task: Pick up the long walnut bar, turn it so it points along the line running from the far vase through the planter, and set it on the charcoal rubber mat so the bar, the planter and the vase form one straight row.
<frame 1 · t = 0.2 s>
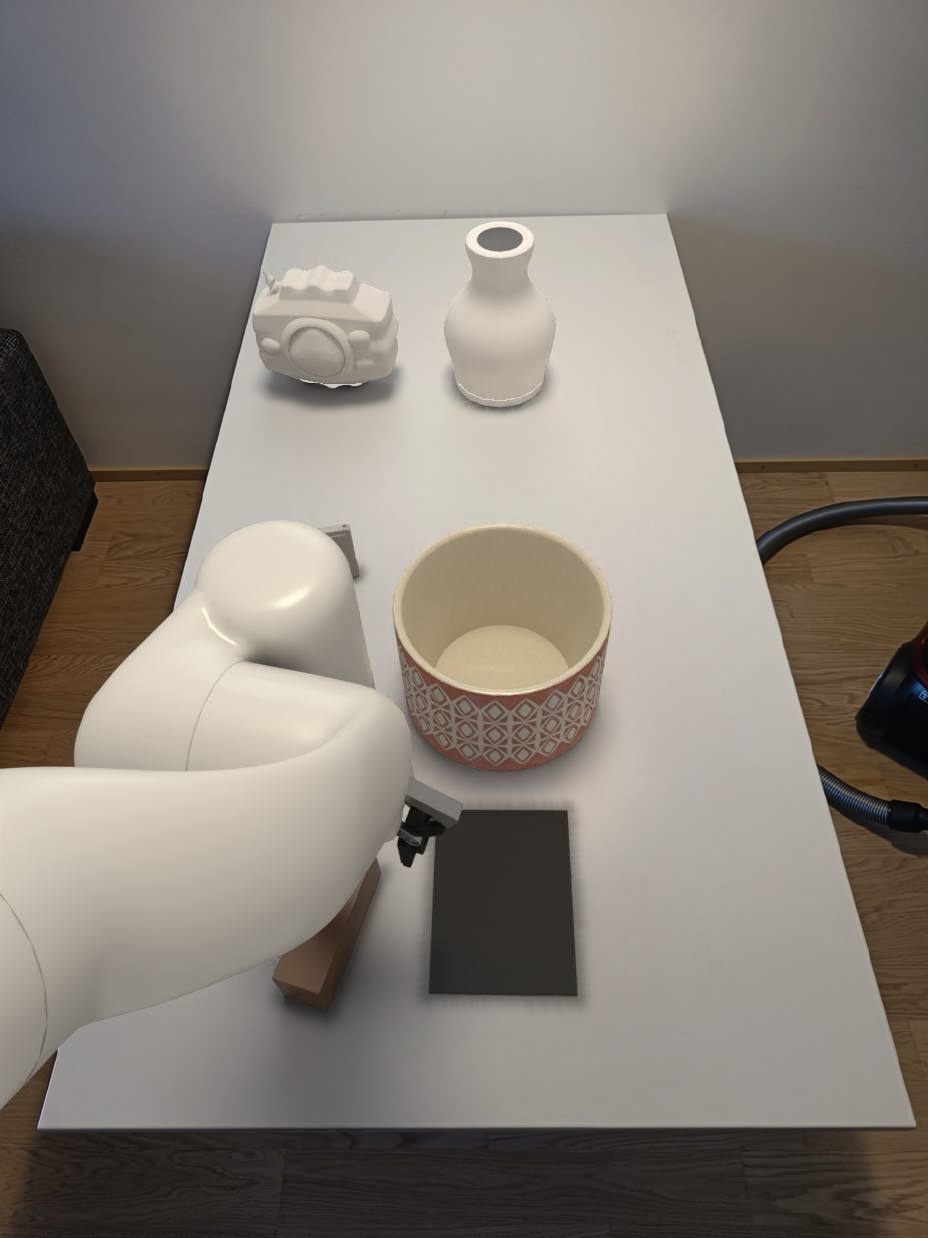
hand: (351, 829, 64), 15 cm above the table, tool pointing down, fingers open, 9 cm apart
camera: (335, 383, 120), on the table
line mat: (502, 897, 76), on the table
cassette: (306, 582, 99), on the table
vase: (499, 379, 119), on the table
planter: (501, 693, 89), on the table
bar: (334, 932, 75), on the table
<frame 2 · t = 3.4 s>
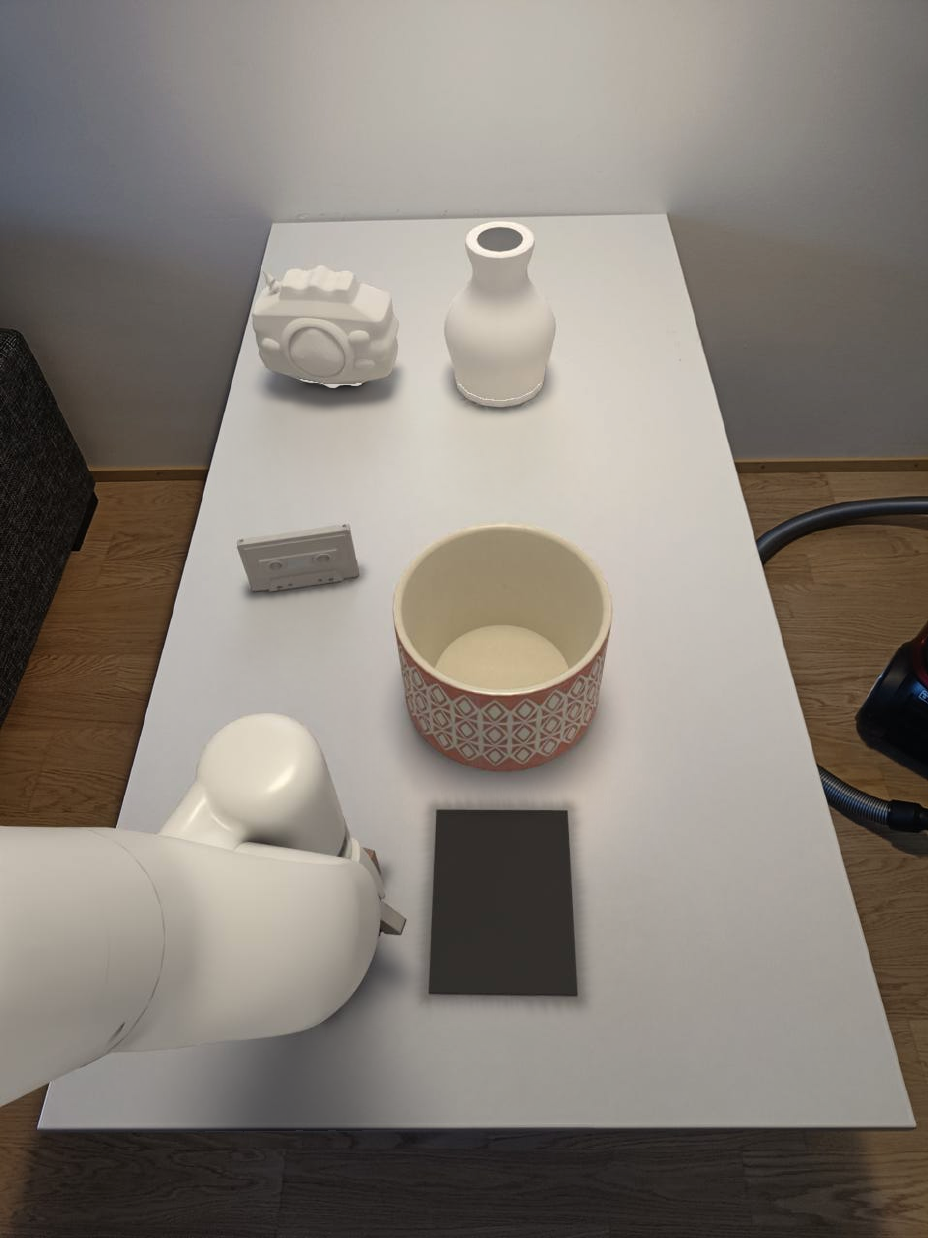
hand: (333, 930, 75), 1 cm above the table, tool pointing down, fingers closed on bar, 4 cm apart
bar: (334, 932, 75), on the table, touching gripper
everything else where it was.
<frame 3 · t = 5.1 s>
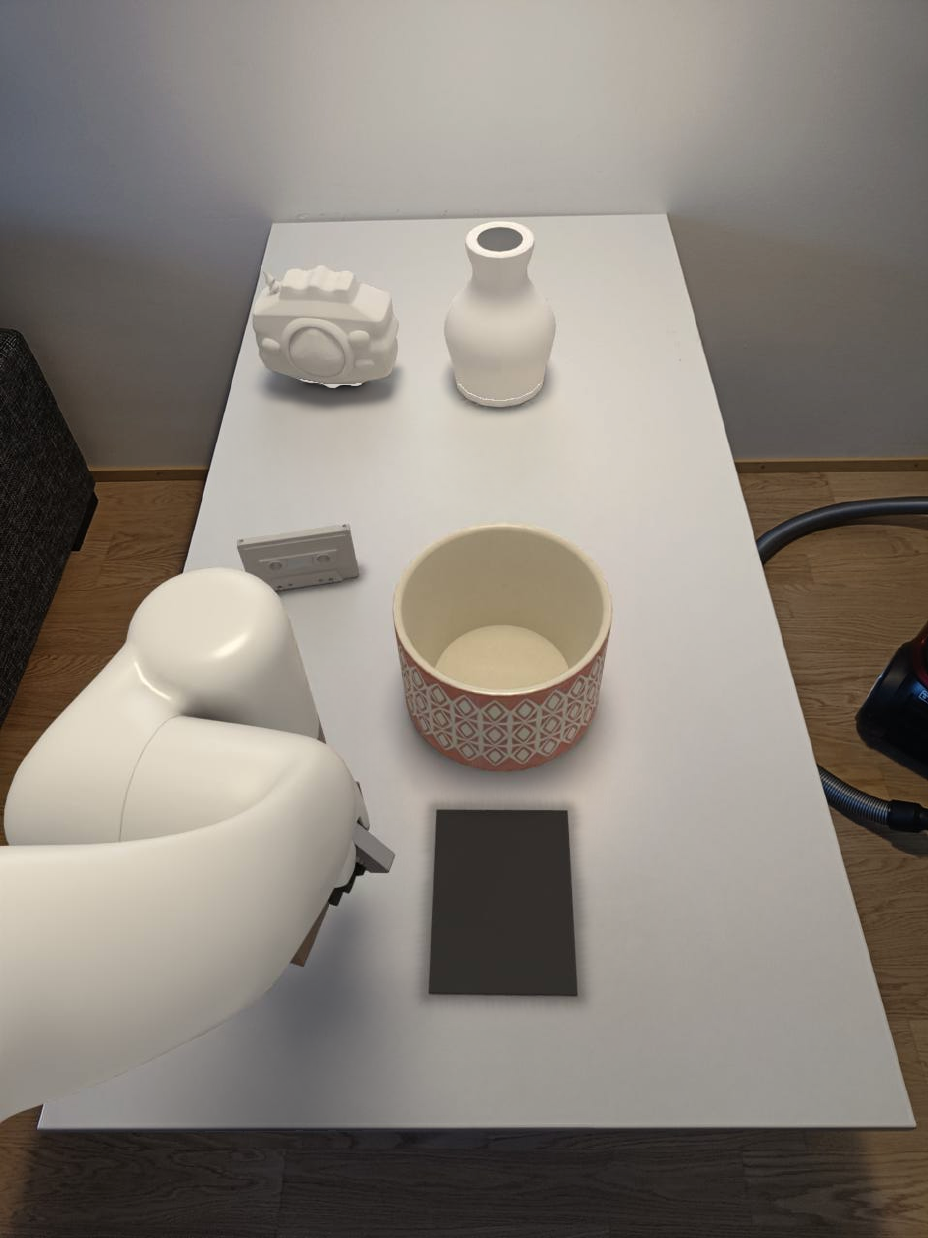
hand: (310, 875, 64), 14 cm above the table, tool pointing down, fingers closed on bar, 4 cm apart
bar: (312, 878, 64), point 13 cm above the table, touching gripper
everything else where it was.
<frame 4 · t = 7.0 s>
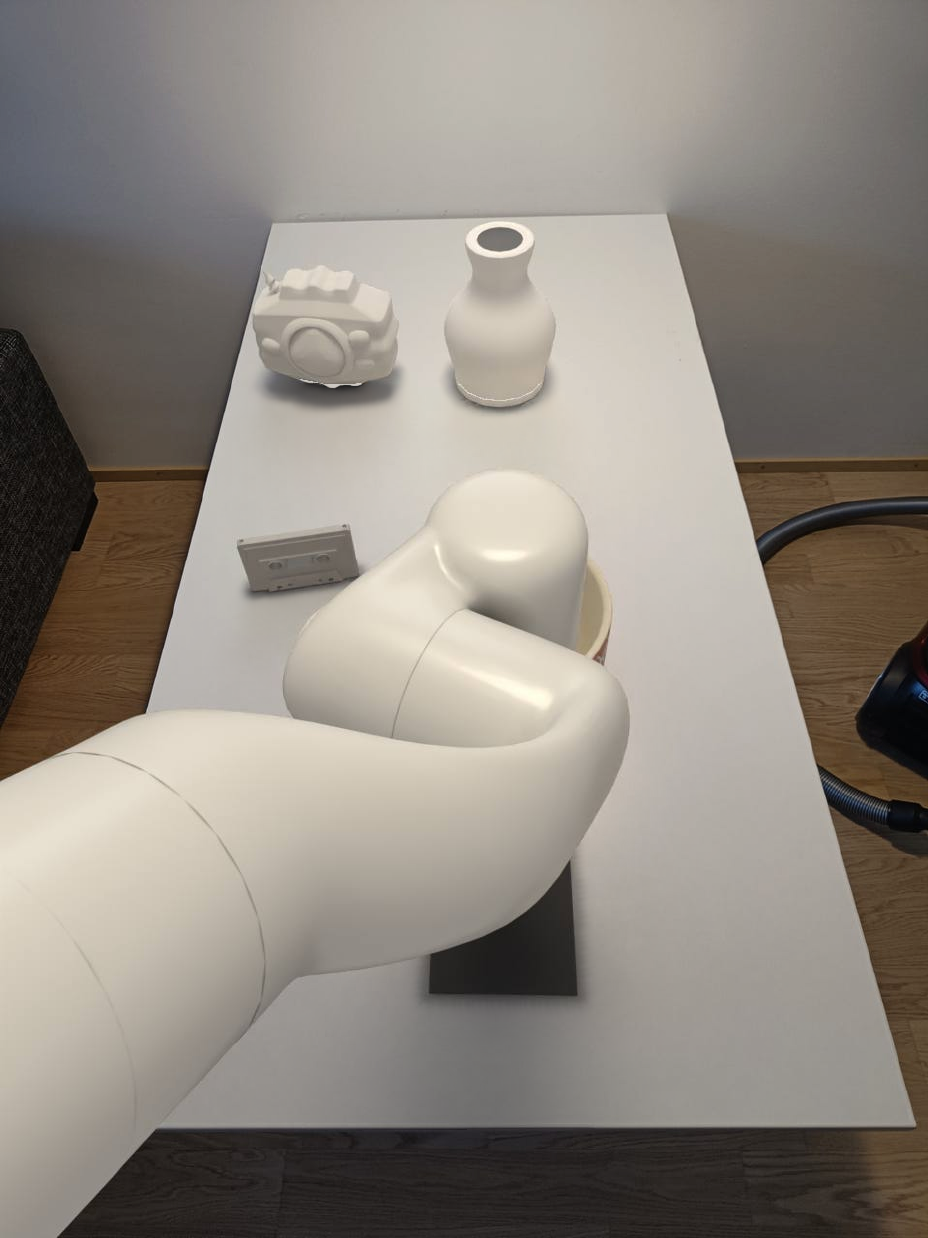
hand: (502, 812, 63), 17 cm above the table, tool pointing down, fingers closed on bar, 4 cm apart
bar: (502, 815, 63), point 17 cm above the table, touching gripper
everything else where it was.
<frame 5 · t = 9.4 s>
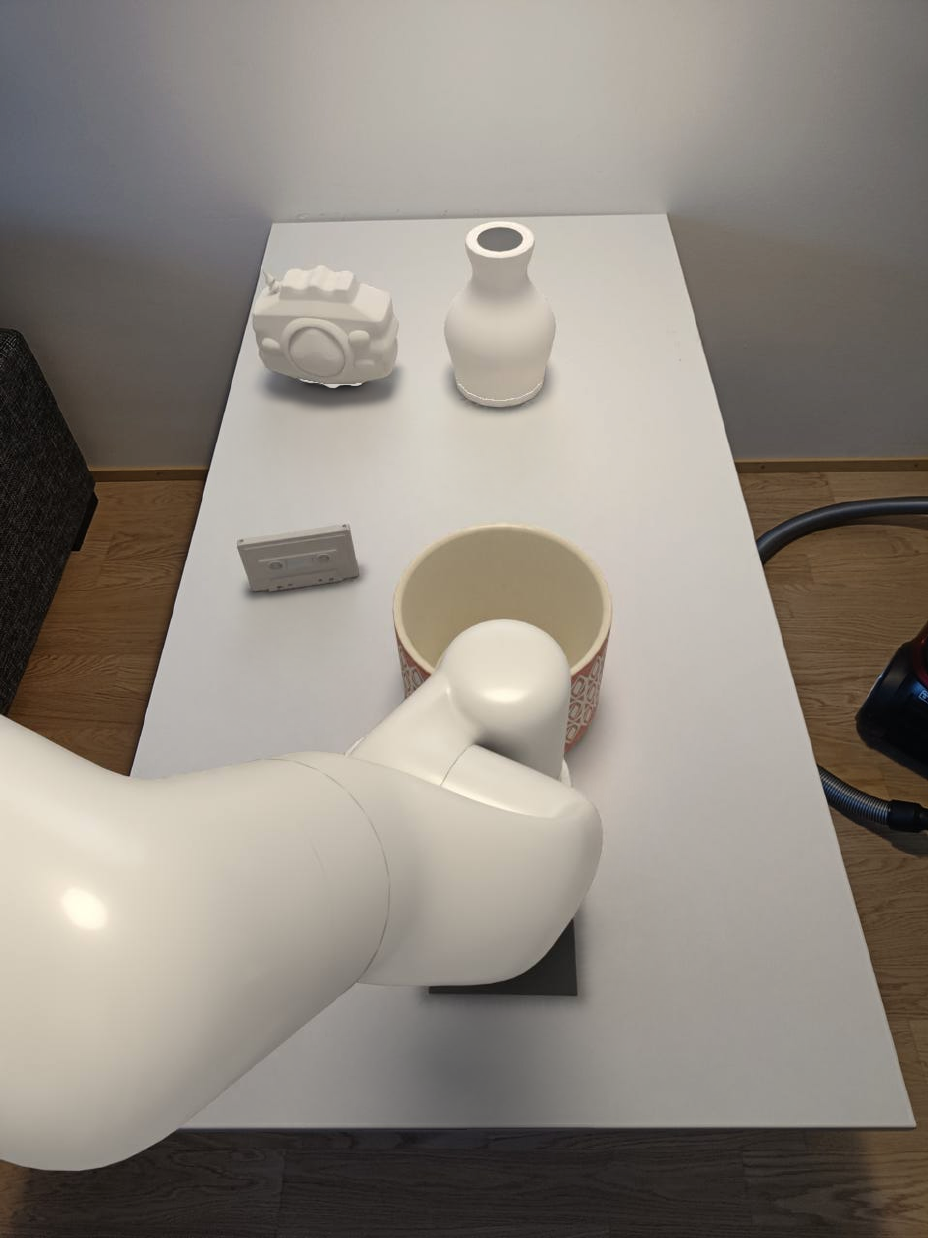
hand: (503, 871, 72), 6 cm above the table, tool pointing down, fingers closed on bar, 4 cm apart
bar: (503, 873, 72), point 5 cm above the table, touching gripper
everything else where it was.
when the fingers open (1 cm above the table, at t = 10.9 s): bar stays where it is, resting on line mat.
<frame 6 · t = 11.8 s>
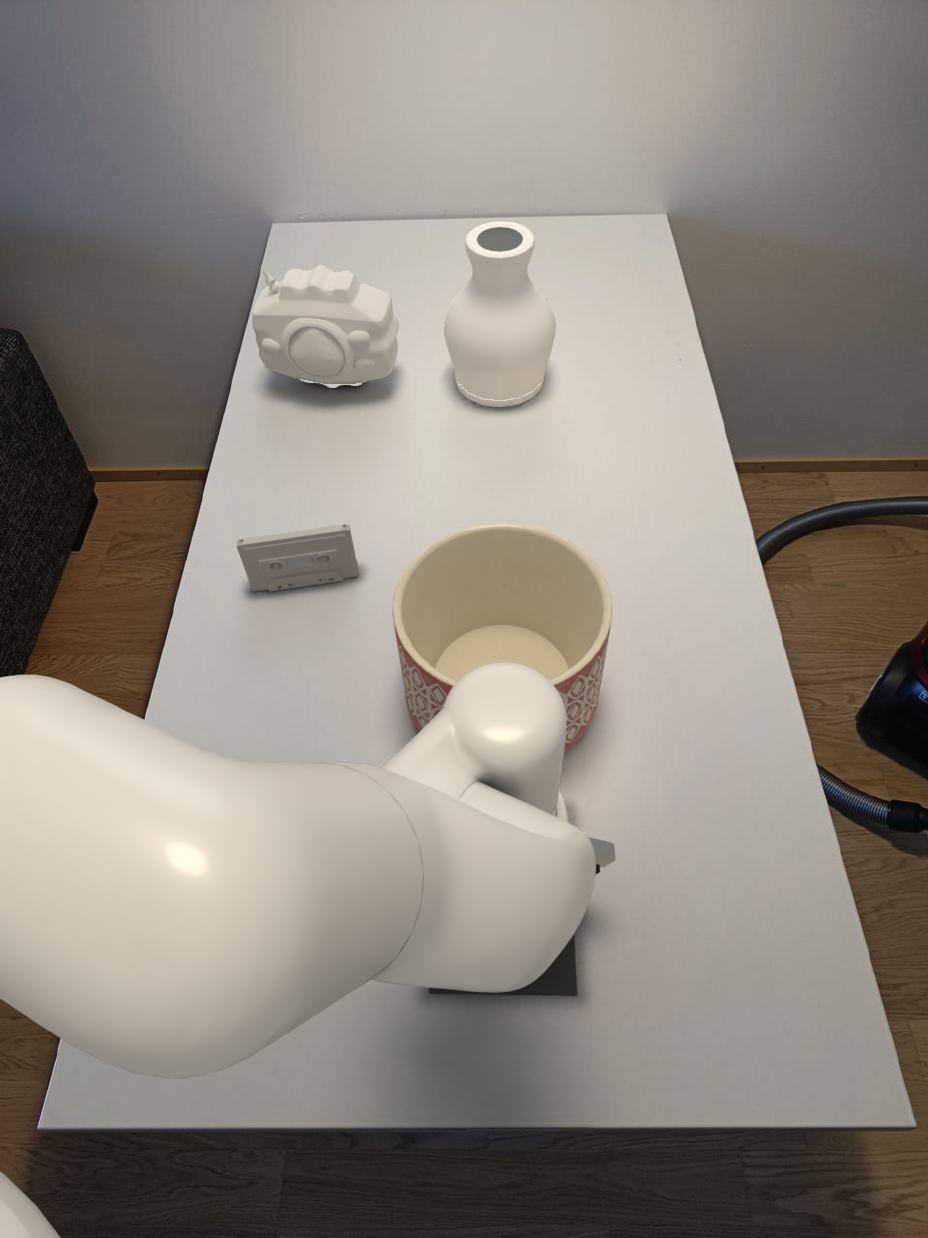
hand: (501, 889, 74), 2 cm above the table, tool pointing down, fingers open, 9 cm apart
bar: (502, 894, 76), resting on line mat
everything else where it was.
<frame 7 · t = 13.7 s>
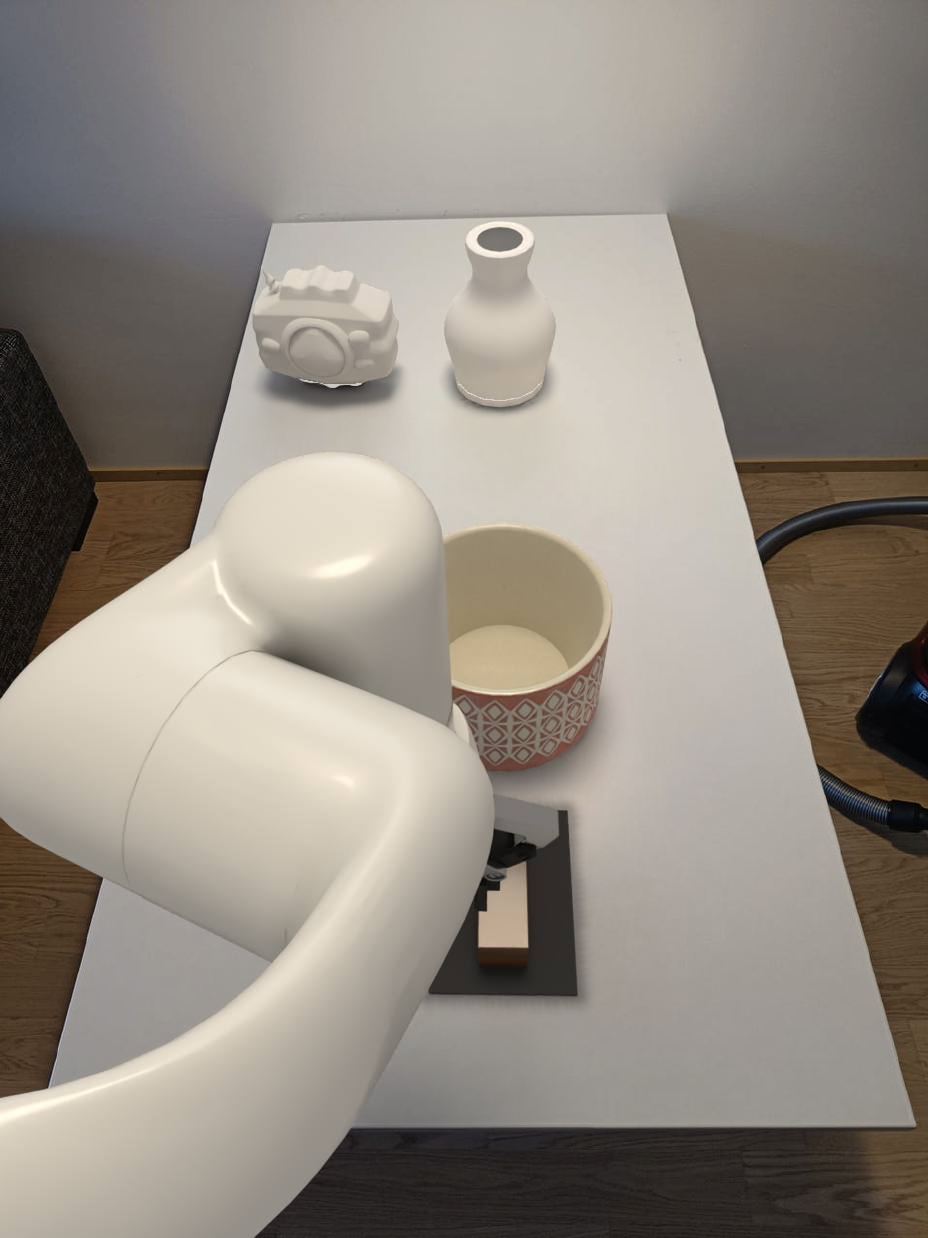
hand: (396, 884, 50), 27 cm above the table, tool pointing down, fingers open, 9 cm apart
nothing on the table moved.
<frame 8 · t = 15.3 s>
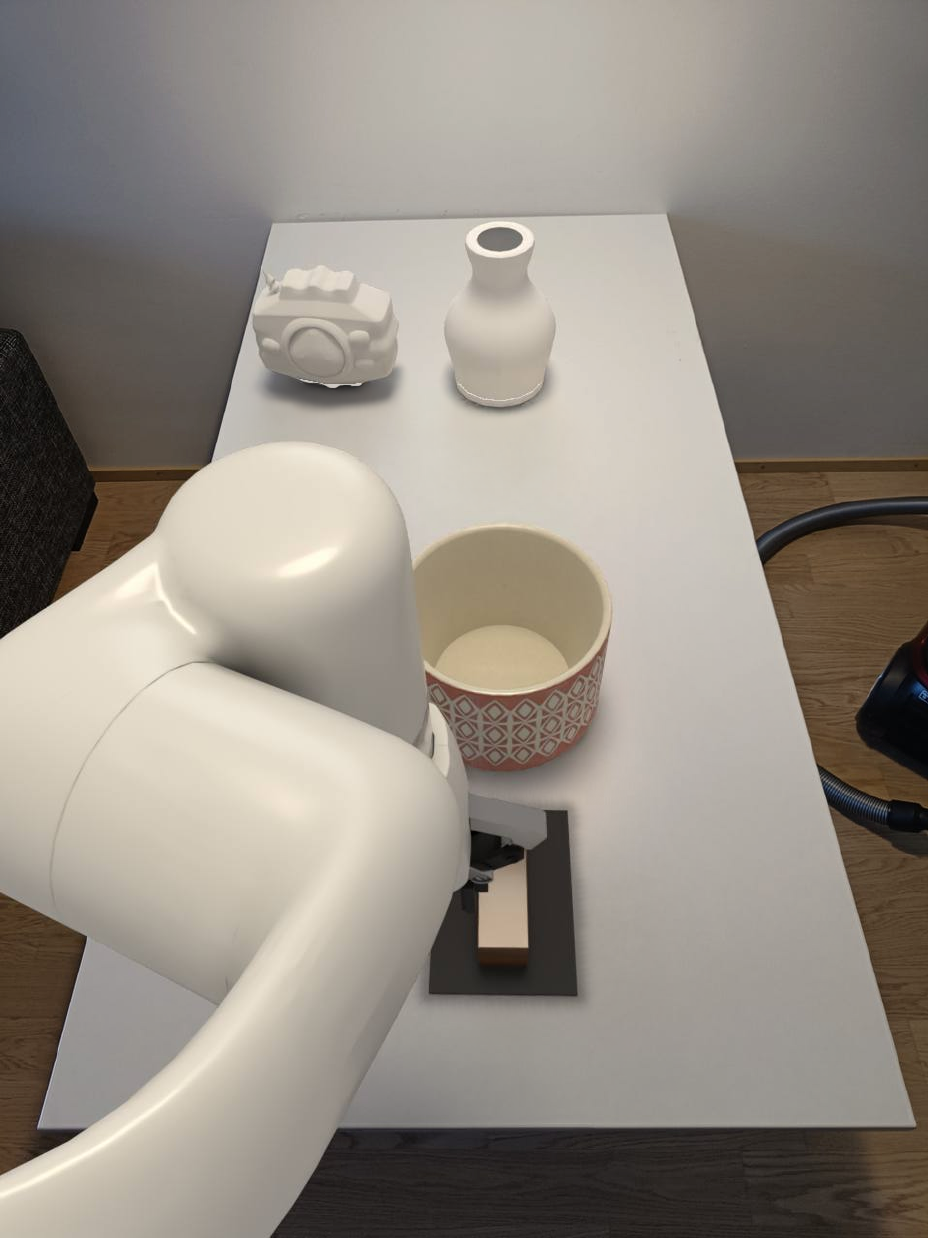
hand: (381, 885, 48), 28 cm above the table, tool pointing down, fingers open, 9 cm apart
nothing on the table moved.
at the end: bar 0.1 cm from the target spot on the table beside the planter, point 0.5 cm above the table; bar 0.1 cm from the target spot on the table beside the vase, point 0.5 cm above the table; bar tilted 0° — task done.
